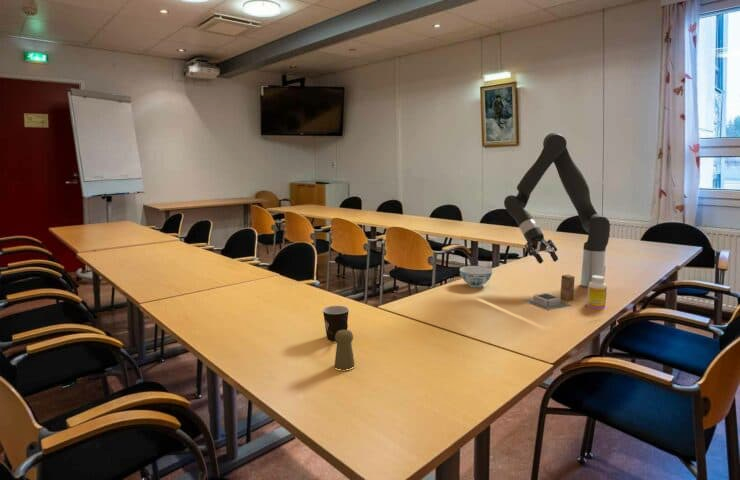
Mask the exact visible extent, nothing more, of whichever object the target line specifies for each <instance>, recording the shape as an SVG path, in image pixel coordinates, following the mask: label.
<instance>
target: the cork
mask: <svg viewBox="0 0 740 480" xmlns="http://www.w3.org/2000/svg"><path fill="white" fill-rule="evenodd" d="M353 339H354V335H353V332H352V331H351V330H348V329H347V330H340V331H338V332H337V333H336V334H335V340H336V342H335V343H336V348H335V349H336V350H335V357H334V366H335V368H337V369H341V370H346V369H350V368H352V367H354V365H355V366H356V364H355V357H354V352H353V344H352V342H353ZM335 368H334V369H335Z"/></svg>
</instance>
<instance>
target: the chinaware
mask: <svg viewBox="0 0 740 480" xmlns="http://www.w3.org/2000/svg"><path fill="white" fill-rule="evenodd" d="M459 273H460V276H461V278H462V280H463V281H464V282H465V283H466V284H468V287H470V288H475V289H476V288H482V287H483V286H484V285H485V284H486V283H487V282H489V280H490V279H491V277H492V274H493V269H492V268H490V267H486V266H480V265H469V266H467V265H466V266H463V267H460V268H459Z"/></svg>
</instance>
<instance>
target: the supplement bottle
mask: <svg viewBox="0 0 740 480" xmlns="http://www.w3.org/2000/svg"><path fill="white" fill-rule="evenodd" d="M605 278H606V277H603V276H598V275H593V276H592V278H591V279H592V282H590V283H589V284H588V287H587V299H586V306H588V307H590V308H593V309H603V308H606V301H607V289H608V286H607V284H606V283H605V280H606V279H605Z"/></svg>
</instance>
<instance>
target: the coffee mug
mask: <svg viewBox="0 0 740 480" xmlns="http://www.w3.org/2000/svg"><path fill="white" fill-rule="evenodd" d="M349 311H350V310H349V308H348V307H347V306H344V305H331V306H330V305H329V306H327V307H324V308H323V309H322V313H323V319H324V320H323V321H324V328H325V333H326V339H327V341H329V340H330V342H333V341H336V340H335V334H336V333H337V332H338V331H340V330H348V325H349V324H348V319H349Z"/></svg>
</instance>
